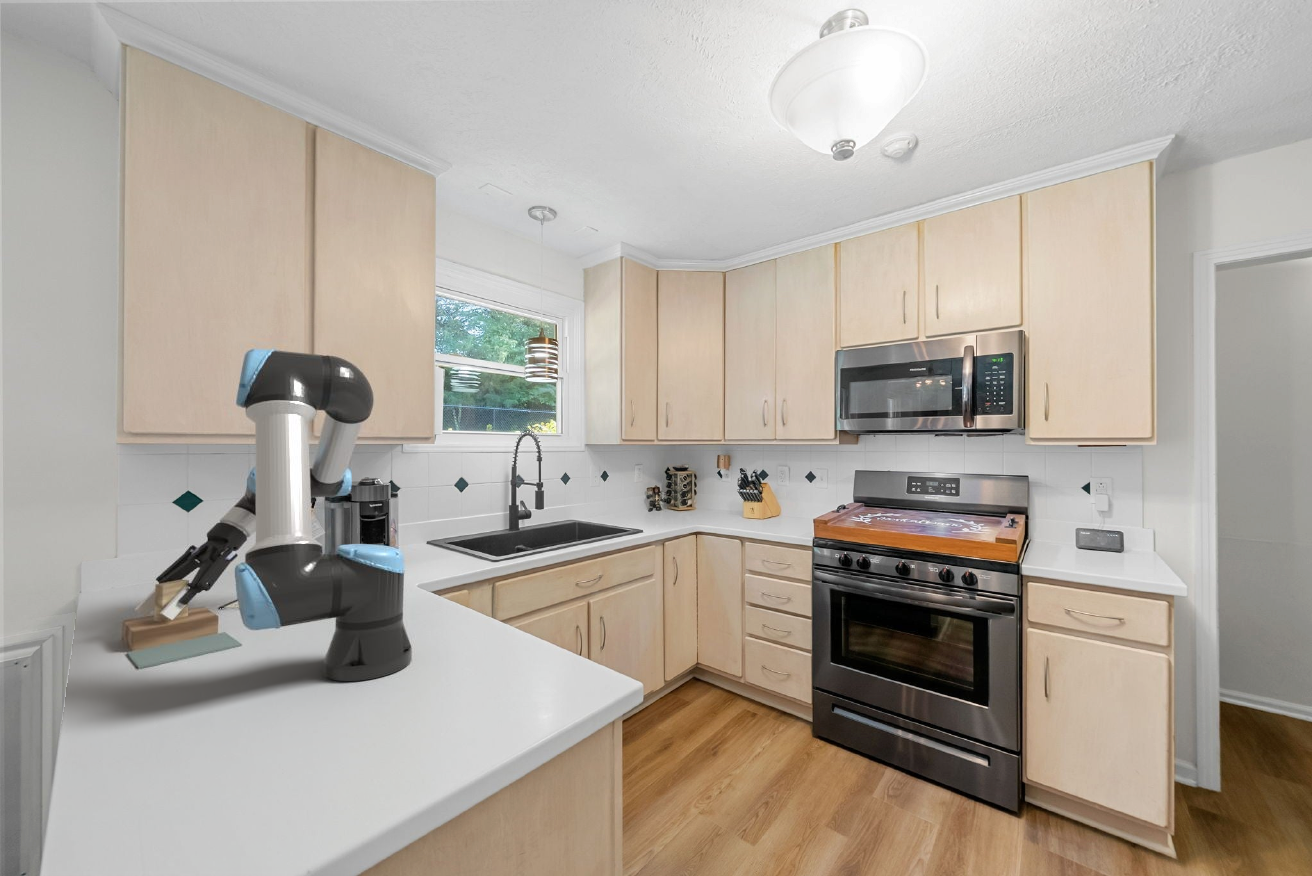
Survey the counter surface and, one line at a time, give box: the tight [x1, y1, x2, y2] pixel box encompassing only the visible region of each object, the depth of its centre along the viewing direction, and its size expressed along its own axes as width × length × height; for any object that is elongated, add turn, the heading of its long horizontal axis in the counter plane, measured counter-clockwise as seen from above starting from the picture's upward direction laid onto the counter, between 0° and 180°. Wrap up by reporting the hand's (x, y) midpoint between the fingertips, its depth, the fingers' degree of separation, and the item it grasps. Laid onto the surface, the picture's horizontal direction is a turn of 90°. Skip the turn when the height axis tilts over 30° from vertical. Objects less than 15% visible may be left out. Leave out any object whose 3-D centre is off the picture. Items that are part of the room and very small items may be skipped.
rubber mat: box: [126, 631, 243, 670], centre depth 112 cm, size 12×16×1 cm
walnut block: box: [121, 606, 219, 651], centre depth 120 cm, size 12×14×4 cm
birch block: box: [153, 579, 190, 622], centre depth 120 cm, size 2×5×8 cm, turn 162°
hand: (153, 614), depth 117 cm, fingers open, 8 cm apart
